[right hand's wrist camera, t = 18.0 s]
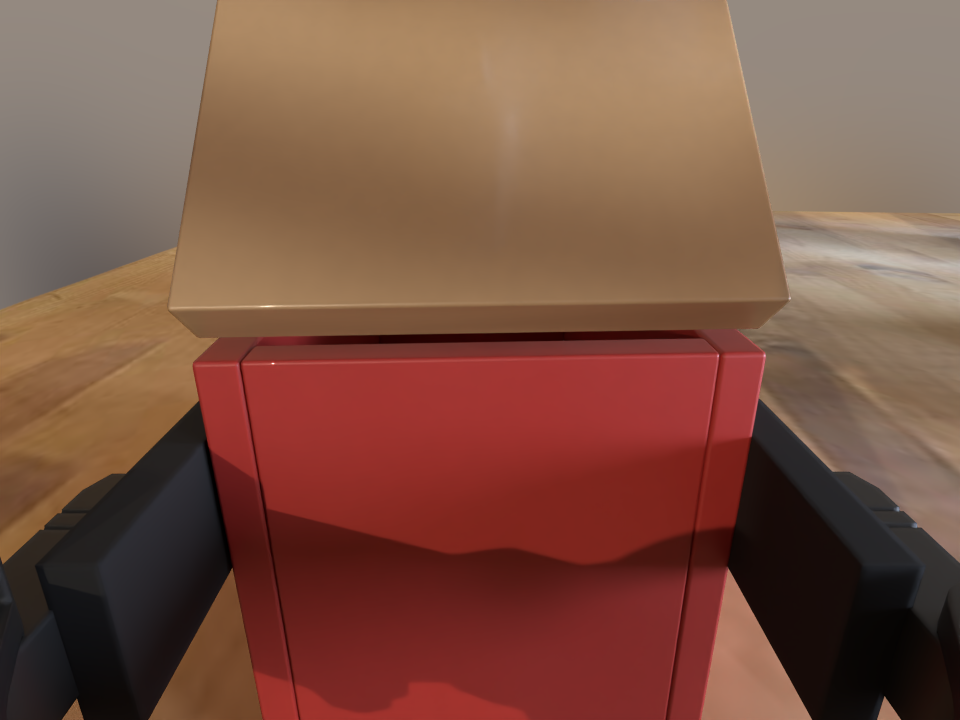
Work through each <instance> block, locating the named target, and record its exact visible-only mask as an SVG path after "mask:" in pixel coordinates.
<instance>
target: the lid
mask: <svg viewBox="0 0 960 720" xmlns="http://www.w3.org/2000/svg"><path fill="white" fill-rule="evenodd" d="M790 299H791V296H790V291H789V286H788V282H787V277H786V272H785V268H784V263H783V259H782V254H781V249H780V245H779V240H778V235H777V231H776V226H775V221H774V217H773V212H772V208H771V203H770V198H769V194H768V189H767V185H766V180H765V175H764V171H763V166H762V161H761V157H760V152H759V147H758V143H757V138H756V133H755V129H754V124H753V119H752V115H751V110H750V106H749V101H748V96H747V92H746V87H745V82H744V78H743V73H742V69H741V64H740V59H739V55H738V50H737V46H736V41H735V36H734V31H733V27H732V22H731V17H730V13H729V8H728V4H727V0H217V5H216V11H215V17H214V24H213V30H212V36H211V42H210V48H209V54H208V60H207V67H206V73H205V79H204V85H203V91H202V97H201V103H200V110H199V116H198V122H197V128H196V134H195V140H194V146H193V153H192V159H191V165H190V171H189V177H188V183H187V189H186V196H185V202H184V208H183V214H182V220H181V227H180V233H179V239H178V245H177V251H176V257H175V263H174V269H173V275H172V282H171V288H170V294H169V300H168V306H167V307H168V311H169V312H170V313H171V314H172V315H174V316H175V317H176V318H177V319H178V320H179V321H180V322H181V323H182V324H183V325H185V326H186V327H187V328H188V329H189V330H190V331H191V332H192V333H193V334H194V335H196V336H197V337H199V338H218V337H278V336H338V335H398V334H458V333H518V332H578V331H638V330H698V329H758V328H760V327H761V326H762V325H764V324H765V323H766V322H767V321H768V320H769V319H770V318H771V317H772V316H774V315H775V314H776V313H777V312H778V311H779V310H780V309H781V308H783V307H784V306H785V305H786V304H787V303H788V302H789V301H790Z"/></svg>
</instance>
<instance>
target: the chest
mask: <svg viewBox="0 0 960 720" xmlns="http://www.w3.org/2000/svg"><path fill="white" fill-rule="evenodd" d="M765 359H766V355H765V352H764V351H763V350H761V349H760V348H759V347H758V346H756V345H755V344H754V343H753V342H752V341H750V340H749V339H748V338H747V337H745V336H744V335H743V334H742V333H740V332H739V331H738V330H737V329H698V330H638V331H578V332H518V333H458V334H398V335H338V336H278V337H219V338H218V339H217V340H216V341H215V342H214V343H213V344H212V345H211V346H210V347H209V348H208V349H207V350H206V351H205V352H204V353H203V354H202V355H201V356H200V357H198V358H197V359H196V360H195V361H194V362H193V371H194V377H195V382H196V387H197V392H198V397H199V402H200V407H201V412H202V417H203V422H204V427H205V432H206V437H207V442H208V447H209V452H210V457H211V462H212V467H213V472H214V477H215V482H216V487H217V492H218V497H219V502H220V507H221V512H222V517H223V522H224V527H225V532H226V537H227V542H228V547H229V552H230V557H231V562H232V567H233V572H234V577H235V582H236V587H237V592H238V597H239V602H240V607H241V612H242V617H243V622H244V627H245V632H246V638H247V643H248V648H249V653H250V658H251V663H252V668H253V673H254V678H255V683H256V688H257V693H258V698H259V703H260V708H261V713H262V718H263V720H701V716H702V710H703V705H704V699H705V693H706V688H707V682H708V677H709V671H710V666H711V660H712V655H713V649H714V643H715V638H716V632H717V627H718V621H719V616H720V610H721V604H722V599H723V593H724V588H725V582H726V577H727V571H728V562H729V556H730V551H731V546H732V540H733V535H734V530H735V524H736V519H737V514H738V508H739V503H740V498H741V492H742V487H743V481H744V476H745V471H746V465H747V460H748V454H749V449H750V443H751V437H752V432H753V426H754V421H755V415H756V410H757V404H758V398H759V393H760V387H761V382H762V376H763V371H764V365H765Z"/></svg>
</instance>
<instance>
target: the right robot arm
mask: <svg viewBox="0 0 960 720" xmlns="http://www.w3.org/2000/svg"><path fill="white" fill-rule="evenodd" d="M728 568H729V570H730V572H731V574H732V575H733V577H734V579H735V581H736V583H737V584H738V586H739V588H740V590H741V592H742V593H743V595H744V597H745V599H746V601H747V602H748V604H749V606H750V608H751V610H752V612H753V613H754V615H755V617H756V619H757V621H758V622H759V624H760V626H761V628H762V630H763V631H764V633H765V635H766V637H767V639H768V640H769V642H770V644H771V646H772V648H773V650H774V651H775V653H776V655H777V657H778V659H779V660H780V662H781V664H782V666H783V668H784V669H785V671H786V673H787V675H788V677H789V678H790V680H791V682H792V684H793V686H794V688H795V689H796V691H797V693H798V695H799V697H800V698H801V700H802V702H803V704H804V706H805V707H806V709H807V711H808V713H809V715H810V716H811V718H812V720H877V718H878V715H879V711H880V708H881V705H882V702H883V699H884V696H885V697H886V699H887V700H888V701H889V703H890V704H891V706H892V707H893V709H894V710H895V711H896V713H897V714H898V716H899V717H900V719H901V720H960V563H959V562H958V561H957V560H956V559H955V558H954V557H952V556H951V555H950V554H949V553H948V552H947V551H946V550H945V549H944V548H943V547H942V546H941V545H939V544H938V543H937V542H936V541H935V540H934V539H933V538H932V537H931V536H930V535H929V534H928V533H927V532H925V531H924V530H923V529H922V528H918V527H917V523H916V522H915V521H914V520H912V519H911V518H910V517H909V516H908V515H907V514H906V513H905V512H904V511H900V510H899V507H898V506H897V505H896V504H895V503H894V502H893V501H892V500H891V499H890V498H889V497H888V496H887V495H885V494H884V493H883V492H882V491H881V490H880V489H879V488H877V487H876V486H874V485H872V484H870V483H868V482H867V481H865V480H863V479H861V478H859V477H858V476H856V475H854V474H852V473H850V472H832V471H831V470H830V469H829V468H828V467H827V466H826V465H825V464H824V463H823V462H822V461H821V460H820V459H819V458H818V457H817V456H816V455H815V454H814V453H813V452H812V451H811V450H810V449H809V448H808V447H807V446H806V445H805V444H804V443H803V442H802V441H801V440H800V439H799V438H798V437H797V436H796V435H795V434H794V433H793V432H792V431H791V430H790V429H789V428H788V427H787V426H786V425H785V424H784V423H783V422H782V421H781V420H780V419H779V418H778V417H777V416H776V415H775V414H774V413H773V412H772V411H771V410H770V409H769V408H768V407H767V406H766V405H765V404H764V403H763V402H762V401H761V400H760V399H759V398H758V404H757V410H756V415H755V421H754V426H753V432H752V437H751V443H750V449H749V454H748V460H747V465H746V471H745V476H744V481H743V487H742V492H741V498H740V503H739V508H738V514H737V519H736V524H735V530H734V535H733V540H732V546H731V551H730V556H729V562H728ZM231 569H232V562H231V557H230V552H229V547H228V542H227V537H226V532H225V527H224V522H223V517H222V512H221V507H220V502H219V497H218V492H217V487H216V482H215V477H214V472H213V467H212V462H211V457H210V452H209V447H208V442H207V437H206V432H205V427H204V422H203V417H202V412H201V407H200V402H199V401H198V402H197V403H196V404H195V405H194V406H193V407H192V408H191V409H190V410H189V411H188V412H187V413H186V414H185V415H184V416H183V417H182V418H181V419H180V420H179V421H178V422H177V423H176V424H175V425H174V426H173V427H172V428H171V429H170V430H169V431H168V432H167V433H166V434H165V435H164V436H163V437H162V438H161V439H160V440H159V441H158V442H157V443H156V444H155V445H154V446H153V447H152V448H151V449H150V450H149V451H148V452H147V453H146V454H145V455H144V456H143V457H142V458H141V459H140V460H139V461H138V462H137V463H136V465H135V466H134V467H133V468H132V469H131V470H130V471H129V472H128V473H127V474H111V475H109V476H107V477H105V478H104V479H102V480H100V481H98V482H96V483H95V484H93V485H91V486H89V487H88V488H86V489H84V490H82V491H81V492H80V493H79V494H78V495H77V496H76V497H75V498H74V499H73V500H72V501H71V502H69V503H68V504H67V505H66V506H65V507H64V508H63V509H62V513H58V514H57V515H56V516H54V517H53V518H52V519H51V520H50V521H49V522H48V523H47V524H46V525H45V528H44V530H39V531H38V532H37V533H36V534H35V535H34V536H33V537H32V538H31V539H30V540H29V541H28V542H27V543H26V544H24V545H23V546H22V547H21V548H20V549H19V550H18V551H17V552H16V553H15V554H14V555H13V556H12V557H10V558H9V559H8V560H7V561H6V562H5V563H4V564H2V561H1V558H0V720H62V719H63V717H64V716H65V714H66V713H67V711H68V710H69V709H70V707H71V706H72V704H73V703H74V701H75V700H76V699H77V700H78V703H79V706H80V709H81V712H82V715H83V719H84V720H148V719H149V718H150V716H151V714H152V712H153V710H154V709H155V707H156V705H157V703H158V701H159V699H160V698H161V696H162V694H163V692H164V690H165V689H166V687H167V685H168V683H169V681H170V680H171V678H172V676H173V674H174V672H175V670H176V669H177V667H178V665H179V663H180V661H181V660H182V658H183V656H184V654H185V652H186V651H187V649H188V647H189V645H190V643H191V642H192V640H193V638H194V636H195V634H196V632H197V631H198V629H199V627H200V625H201V623H202V622H203V620H204V618H205V616H206V614H207V613H208V611H209V609H210V607H211V605H212V604H213V602H214V600H215V598H216V596H217V594H218V593H219V591H220V589H221V587H222V585H223V584H224V582H225V580H226V578H227V576H228V575H229V573H230V571H231Z"/></svg>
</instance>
